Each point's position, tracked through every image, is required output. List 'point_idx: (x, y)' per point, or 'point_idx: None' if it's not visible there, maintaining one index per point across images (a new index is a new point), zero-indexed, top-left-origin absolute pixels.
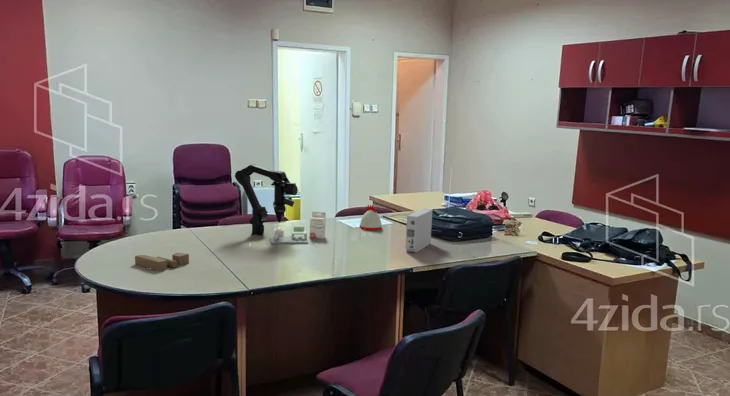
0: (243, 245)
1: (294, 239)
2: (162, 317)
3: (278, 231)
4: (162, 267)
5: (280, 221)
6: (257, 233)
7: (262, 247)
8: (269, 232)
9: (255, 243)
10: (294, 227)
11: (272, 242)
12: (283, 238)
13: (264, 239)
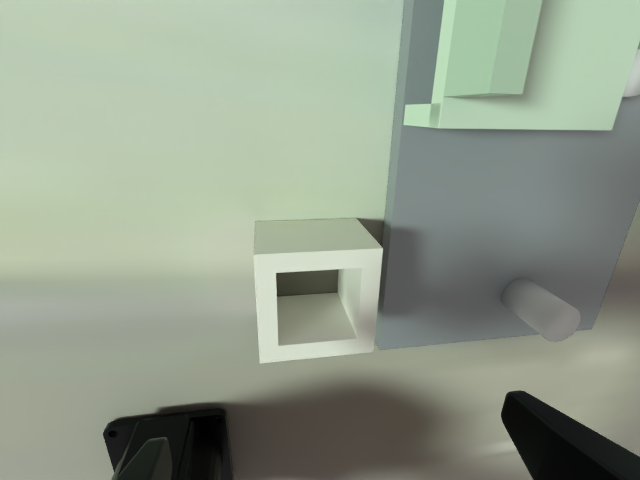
0: None
1: None
2: None
3: (374, 305)
4: None
5: (534, 397)
6: (222, 456)
7: (636, 367)
8: (101, 363)
9: None
10: (517, 76)
11: (594, 320)
12: (488, 228)
13: (411, 377)
